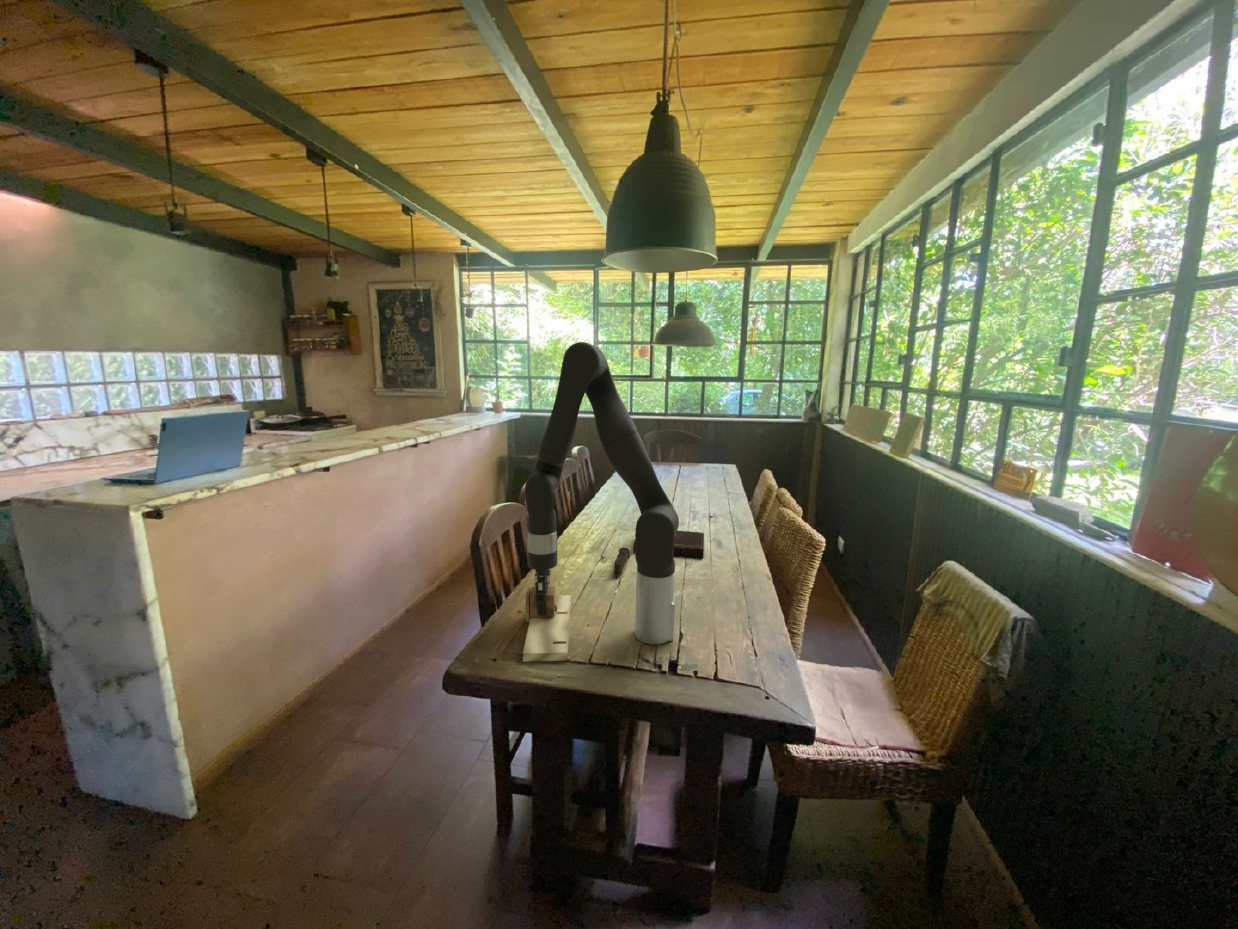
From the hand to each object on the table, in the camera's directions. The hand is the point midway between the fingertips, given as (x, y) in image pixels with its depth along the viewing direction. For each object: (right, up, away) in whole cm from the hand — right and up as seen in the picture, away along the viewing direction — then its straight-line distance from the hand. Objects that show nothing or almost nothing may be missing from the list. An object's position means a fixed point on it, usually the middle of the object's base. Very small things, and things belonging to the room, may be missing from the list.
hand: (542, 608), depth 125 cm
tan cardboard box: (0, -2, 0) cm, 2 cm away
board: (+2, -4, -3) cm, 6 cm away
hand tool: (+21, +3, +36) cm, 41 cm away
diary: (+39, +6, +55) cm, 68 cm away
